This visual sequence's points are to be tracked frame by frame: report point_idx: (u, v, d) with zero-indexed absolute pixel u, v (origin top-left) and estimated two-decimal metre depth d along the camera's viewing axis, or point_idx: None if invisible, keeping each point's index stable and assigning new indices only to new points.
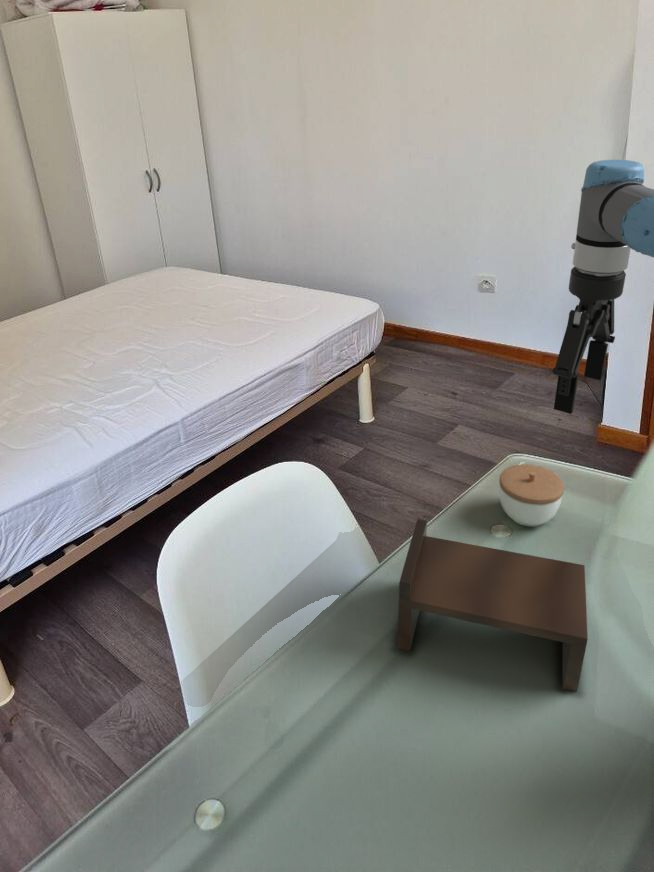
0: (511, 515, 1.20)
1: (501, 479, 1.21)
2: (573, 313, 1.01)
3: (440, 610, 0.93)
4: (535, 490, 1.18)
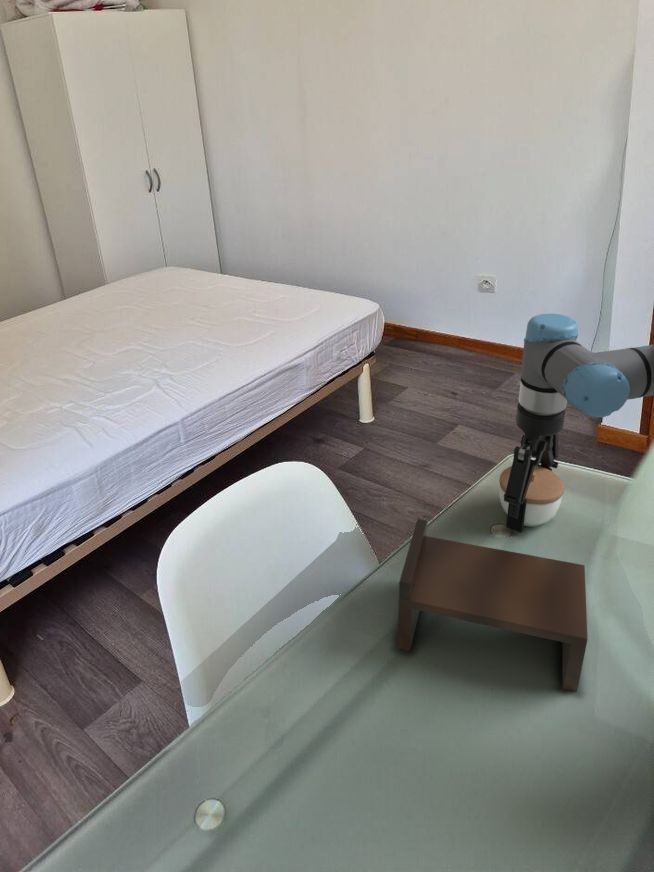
0: None
1: (501, 479, 1.21)
2: (517, 450, 1.12)
3: (440, 610, 0.93)
4: (535, 490, 1.18)
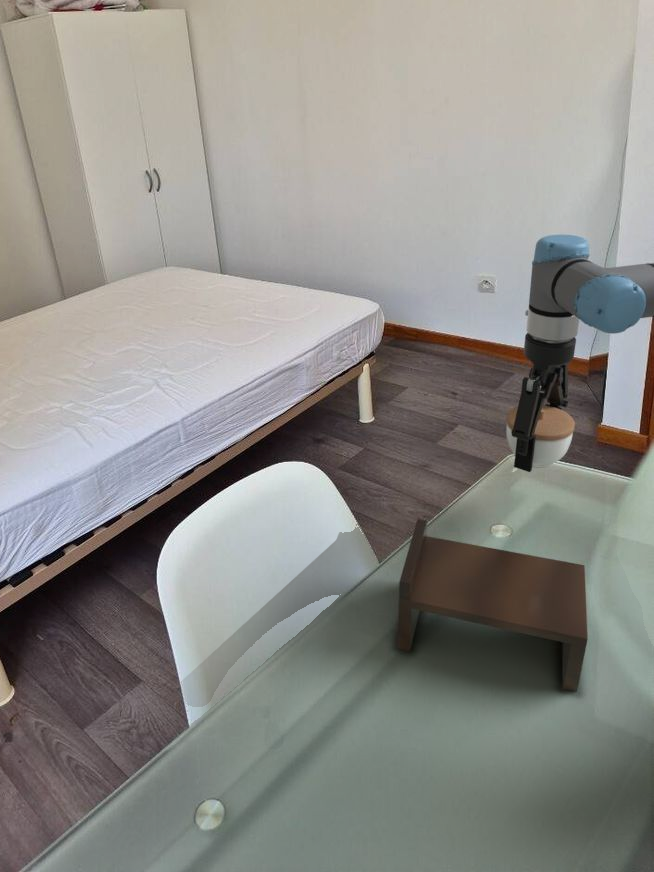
0: None
1: (508, 417, 1.16)
2: (526, 381, 1.06)
3: (440, 610, 0.93)
4: (545, 427, 1.12)
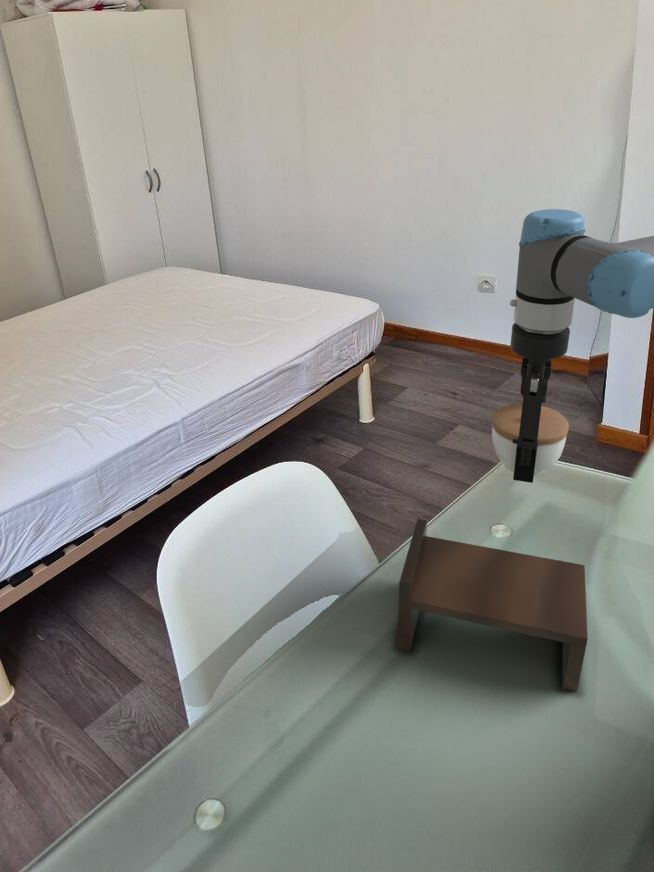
0: None
1: (497, 424, 1.01)
2: (529, 381, 0.92)
3: (440, 610, 0.93)
4: (541, 429, 0.99)
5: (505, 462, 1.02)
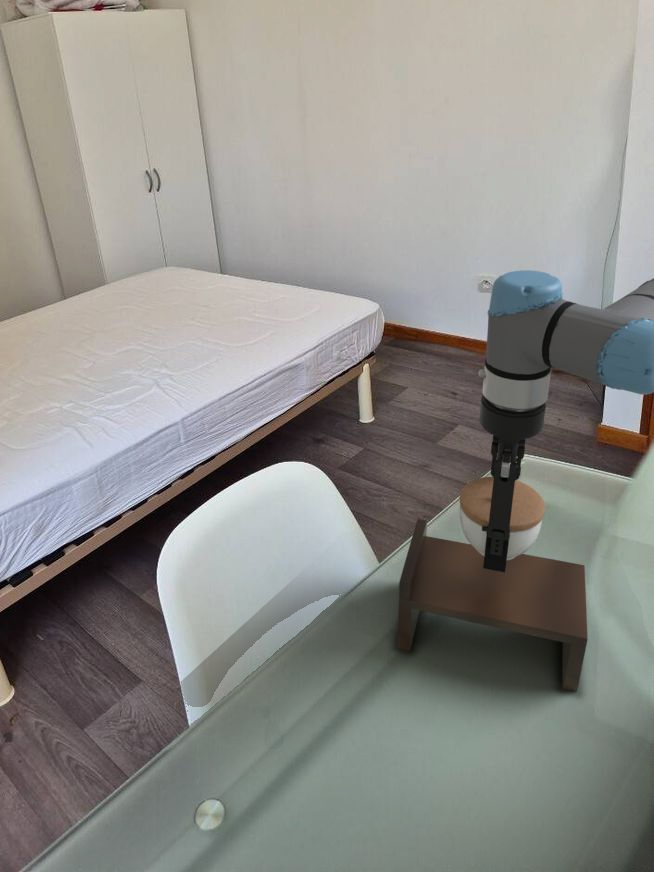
0: None
1: (465, 505, 0.90)
2: (499, 465, 0.81)
3: (440, 610, 0.93)
4: (514, 512, 0.88)
5: (474, 546, 0.91)
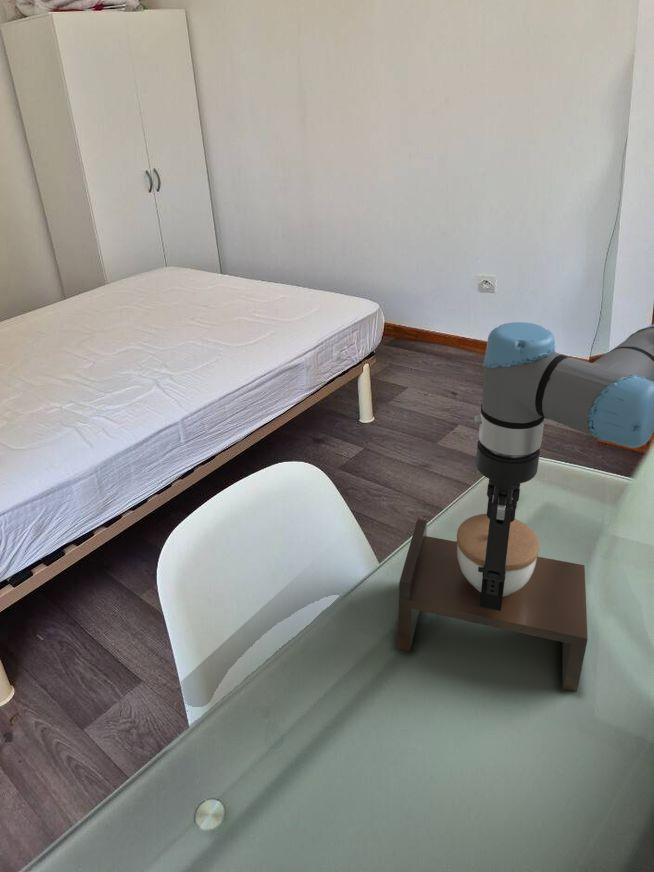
0: None
1: (462, 543, 0.92)
2: (495, 508, 0.83)
3: (440, 610, 0.93)
4: (509, 551, 0.90)
5: (471, 583, 0.93)
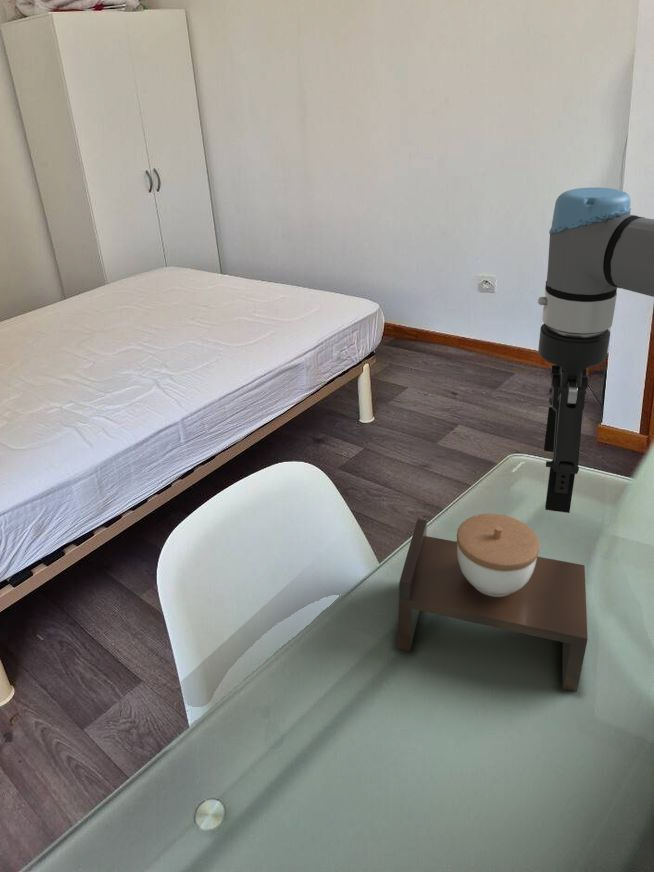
0: (482, 587, 0.92)
1: (462, 543, 0.92)
2: (566, 390, 0.76)
3: (440, 610, 0.93)
4: (509, 551, 0.90)
5: (471, 583, 0.93)
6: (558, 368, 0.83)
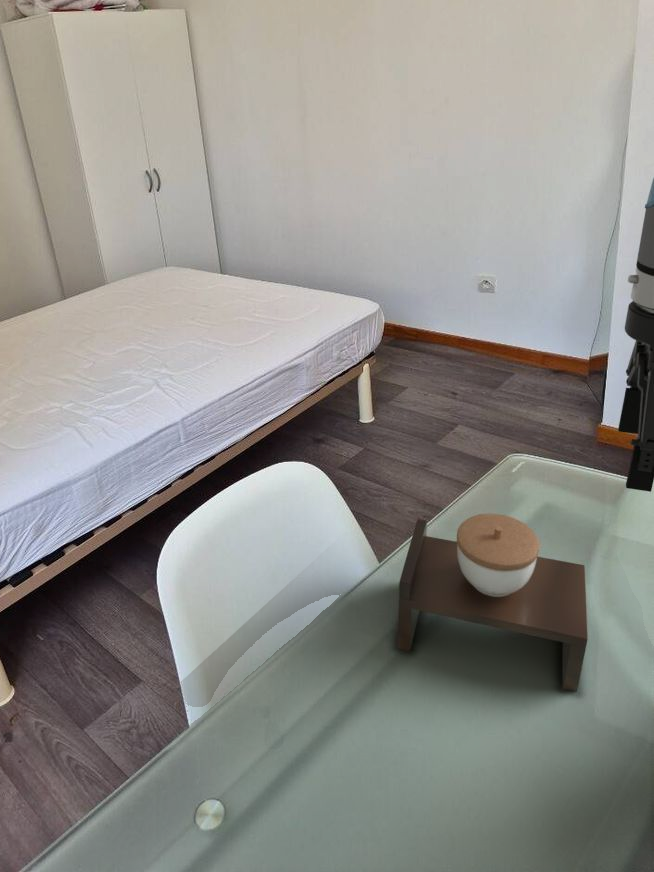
0: (482, 587, 0.92)
1: (462, 543, 0.92)
2: None
3: (440, 610, 0.93)
4: (509, 551, 0.90)
5: (471, 583, 0.93)
6: (643, 347, 0.83)
